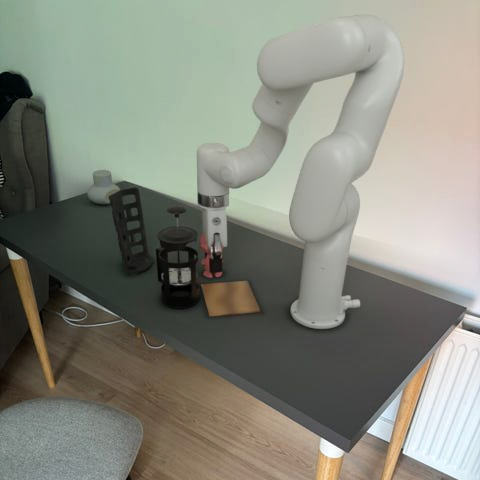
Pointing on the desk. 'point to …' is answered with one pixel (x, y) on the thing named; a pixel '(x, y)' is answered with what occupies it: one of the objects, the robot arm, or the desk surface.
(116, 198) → the holder
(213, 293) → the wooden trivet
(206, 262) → the cat figurine
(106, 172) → the air freshener
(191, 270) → the french press
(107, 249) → the desk surface
